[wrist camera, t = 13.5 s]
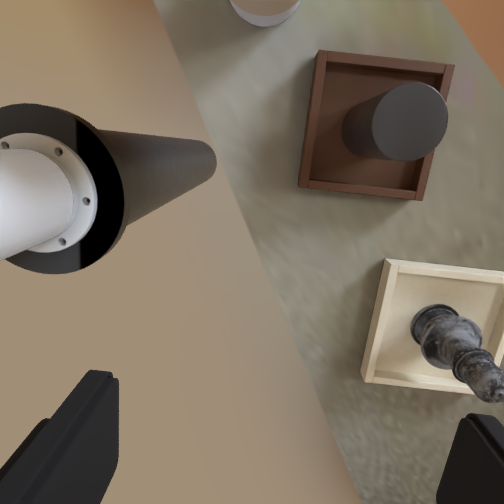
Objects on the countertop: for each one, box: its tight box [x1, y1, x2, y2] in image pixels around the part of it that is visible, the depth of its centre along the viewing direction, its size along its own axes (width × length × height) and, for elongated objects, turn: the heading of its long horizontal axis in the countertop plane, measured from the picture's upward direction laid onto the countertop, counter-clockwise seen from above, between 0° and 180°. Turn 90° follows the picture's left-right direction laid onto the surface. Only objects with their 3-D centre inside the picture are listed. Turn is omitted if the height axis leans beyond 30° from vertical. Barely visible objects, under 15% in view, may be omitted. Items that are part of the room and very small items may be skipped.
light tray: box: [360, 258, 504, 395], centre depth 38 cm, size 14×14×2 cm
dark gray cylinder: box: [342, 82, 448, 162], centre depth 29 cm, size 5×5×10 cm
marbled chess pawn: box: [410, 304, 504, 403], centre depth 33 cm, size 6×6×12 cm
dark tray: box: [298, 50, 455, 201], centre depth 33 cm, size 12×12×2 cm
